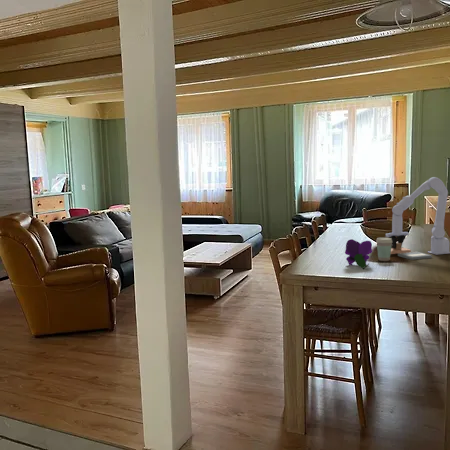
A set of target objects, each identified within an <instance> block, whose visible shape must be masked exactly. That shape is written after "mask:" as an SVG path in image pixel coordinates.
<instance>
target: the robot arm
mask: <svg viewBox="0 0 450 450" xmlns="http://www.w3.org/2000/svg"><path fill="white" fill-rule="evenodd" d="M431 188H432V189H433V190H434V191H435V192H436V193H437V194H438V197H437V203H436V210H435V211H436V212H435V217H434V223H433V227H432V228H431V234H432V235H431V237H430V251H429V250H428V251H427V253H428V254H431V255H438V256H439V255H445V254H447V255H448V254H450V240H449V239H448V238H447V237H445V235H446V231H445V218H446V216H445V215H446V210H447V209H446V208H447V201H448V195H449V191H448V189H447V187H446V185H445V182H444V181H443V180H442V179H440V178H439V177H436V176H432V177H430V178H428V179H427V180H425V182H423V183H422V184H421V185H420V186H418V187H417V188H416V189H415V190H414V191H413V192H412V193H411V194H410V195H406V196H402V199H401V200H400V201H399V202H396V205H394V206H393V207H392V209H391V211H392V218H391V220H392V221H391V232H389V233H387V232H386V233H385V238H391V239H392V246H391V247H392V249H393V248H394V249H396V242H398V243H402V244H401V248H403V243H404V241H405V239H406V236H409V235H410V233H409V232H408V231H403V219H404V218H403V213H404V211H406V210H407V209H408V208H409V207H411V206H412V205H413V204H414V201H415V199H416V198H417V197H419V196H420V195H421V194H423V192H425V191H429V190H431Z"/></svg>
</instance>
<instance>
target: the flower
mask: <svg viewBox="0 0 450 450" xmlns="http://www.w3.org/2000/svg"><path fill="white" fill-rule="evenodd" d="M372 248H373V244H372V242H371V241H370V240H365V241H361V242H359V241H357V240H354V239H353V238H352V239H348V240H347V242H346V244H345V250H344V254H345V255H347V257H346V259H345V260H346V262H347V263H348V265H349V266H350V265H352V264H353V263H356V265H357V266H358V267H359V268H361V269H363V270H366V268H367V267H368V266H369V265H370V263H368V264H367V261H368V260H369V259H370V256H369V255H370V254H372V252H373V249H372Z"/></svg>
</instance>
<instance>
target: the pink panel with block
mask: <svg viewBox="0 0 450 450" xmlns="http://www.w3.org/2000/svg"><path fill="white" fill-rule="evenodd" d="M401 244H402V245H403V243H398V241H397V242H396V249H394V248H393V247H392V248H391V254H390V255H396V254H397V255H398V253H409V252H412V249H409V248H405V247H401Z"/></svg>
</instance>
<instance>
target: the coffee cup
mask: <svg viewBox="0 0 450 450" xmlns="http://www.w3.org/2000/svg"><path fill="white" fill-rule="evenodd" d="M375 242H376V249H377V258H378V260H379V261H381V262H388V261H390V260H391V255H392V254H391V249H392V247H393V246H392V239H391V238H389V237H386V236H384V237H377V238H376V241H375Z"/></svg>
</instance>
